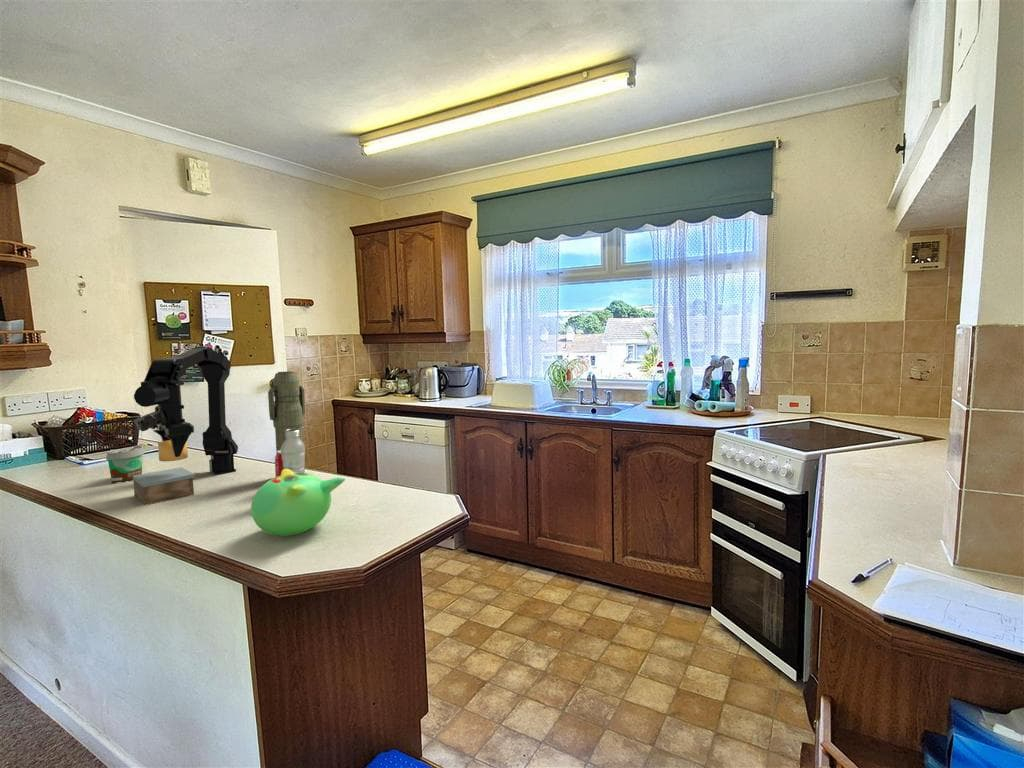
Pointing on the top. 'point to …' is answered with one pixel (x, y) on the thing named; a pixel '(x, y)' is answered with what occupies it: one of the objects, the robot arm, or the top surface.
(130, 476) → the food container
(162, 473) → the lid
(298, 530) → the green toy creature
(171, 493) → the walnut box
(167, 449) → the short orange cylinder
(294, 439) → the plastic bottle
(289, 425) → the headless coat mannequin
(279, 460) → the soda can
